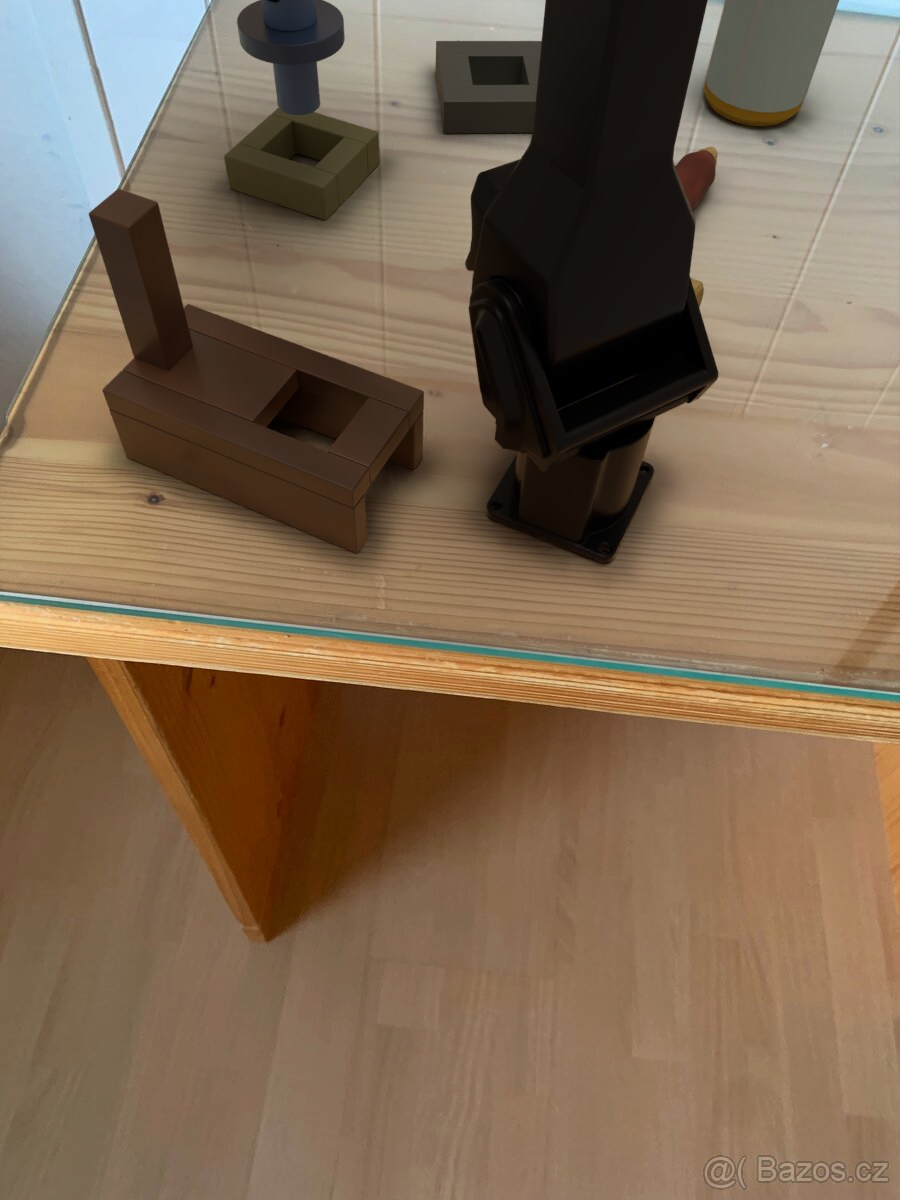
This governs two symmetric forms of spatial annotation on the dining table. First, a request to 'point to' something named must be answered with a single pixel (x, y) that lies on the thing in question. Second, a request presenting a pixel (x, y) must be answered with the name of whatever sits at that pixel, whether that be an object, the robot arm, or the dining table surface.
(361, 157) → the frame
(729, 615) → the dining table surface
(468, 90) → the block
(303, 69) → the peg
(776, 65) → the bottle
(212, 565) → the dining table surface
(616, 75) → the robot arm
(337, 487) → the stand
